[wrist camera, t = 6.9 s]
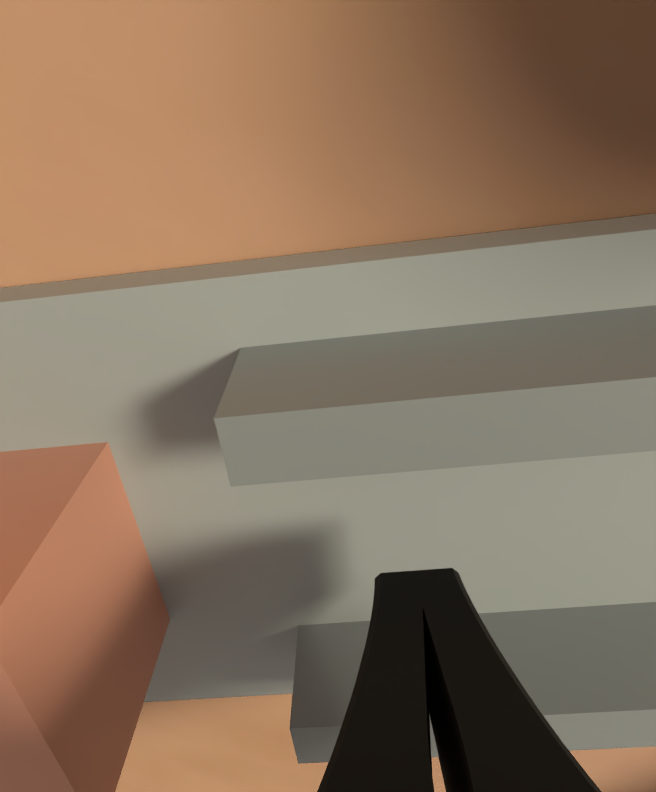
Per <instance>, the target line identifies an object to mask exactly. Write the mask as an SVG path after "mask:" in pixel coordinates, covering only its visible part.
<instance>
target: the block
mask: <svg viewBox="0 0 656 792" xmlns="http://www.w3.org/2000/svg"><path fill="white" fill-rule="evenodd" d="M169 622H170V617H169V614H168V611H167V608H166V605H165V603H164V600H163V597H162V594H161V591H160V588H159V586H158V583H157V580H156V577H155V574H154V571H153V568H152V566H151V563H150V560H149V557H148V554H147V551H146V549H145V546H144V543H143V540H142V537H141V534H140V532H139V529H138V526H137V523H136V520H135V517H134V515H133V512H132V509H131V506H130V503H129V500H128V498H127V495H126V492H125V489H124V486H123V483H122V481H121V478H120V475H119V472H118V469H117V466H116V464H115V461H114V458H113V455H112V452H111V449H110V446H109V444H108V442H103V443H92V444H81V445H70V446H59V447H48V448H37V449H27V450H16V451H5V452H0V792H115V790H116V787H117V784H118V780H119V777H120V774H121V771H122V768H123V765H124V762H125V759H126V756H127V752H128V749H129V746H130V743H131V740H132V737H133V734H134V731H135V727H136V724H137V721H138V718H139V715H140V712H141V709H142V706H143V703H144V699H145V696H146V693H147V690H148V687H149V684H150V681H151V678H152V675H153V671H154V668H155V665H156V662H157V659H158V656H159V653H160V650H161V646H162V643H163V640H164V637H165V634H166V631H167V628H168V625H169Z"/></svg>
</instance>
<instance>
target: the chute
mask: <svg viewBox="0 0 656 792" xmlns="http://www.w3.org/2000/svg"><path fill="white" fill-rule="evenodd" d="M103 442H108V444H109V446H110V449H111V452H112V455H113V458H114V461H115V464H116V466H117V469H118V472H119V475H120V478H121V481H122V483H123V486H124V489H125V492H126V495H127V498H128V500H129V503H130V506H131V509H132V512H133V515H134V517H135V520H136V523H137V526H138V529H139V532H140V534H141V537H142V540H143V543H144V546H145V549H146V551H147V554H148V557H149V560H150V563H151V566H152V568H153V571H154V574H155V577H156V580H157V583H158V586H159V588H160V591H161V594H162V597H163V600H164V603H165V605H166V608H167V611H168V614H169V617H170V622H169V625H168V628H167V631H166V634H165V637H164V640H163V643H162V646H161V650H160V653H159V656H158V659H157V662H156V665H155V668H154V671H153V675H152V678H151V681H150V684H149V687H148V690H147V693H146V696H145V699H144V702H153V701H171V700H188V699H206V698H224V697H241V696H259V695H276V694H293V695H292V707H291V720H290V731H291V736H292V740H293V744H294V748H295V752H296V756H297V760H298V763H319V762H329V760H330V758H331V755H332V752H333V750H334V747H335V744H336V741H337V738H338V735H339V732H340V729H341V726H342V723H343V720H344V717H345V714H346V711H347V708H348V705H349V702H350V699H351V696H352V692H353V689H354V686H355V682H356V678H357V674H358V671H359V667H360V663H361V659H362V656H363V652H364V648H365V644H366V639H367V634H368V630H369V625H370V620H371V614H372V607H373V599H374V585H375V578H376V577H377V576H378V575H379V574H380V573H387V572H401V571H415V570H429V569H443V568H453V569H454V570H456V571H457V572H458V573H459V575H460V577H461V580H462V582H463V584H464V587H465V589H466V591H467V593H468V595H469V597H470V599H471V601H472V603H473V605H474V607H475V609H476V610H477V612H478V614H479V616H480V618H481V619H482V621H483V623H484V625H485V626H486V628H487V630H488V632H489V633H490V635H491V637H492V639H493V640H494V642H495V644H496V645H497V647H498V648H499V650H500V652H501V653H502V655H503V656H504V658H505V659H506V661H507V663H508V664H509V666H510V667H511V669H512V670H513V672H514V673H515V675H516V676H517V678H518V680H519V681H520V683H521V684H522V686H523V687H524V689H525V690H526V692H527V693H528V695H529V696H530V697H531V699H532V700H533V702H534V703H535V705H536V706H537V708H538V709H539V710H540V712H541V713H542V715H543V716H544V717H545V719H546V720H547V721H548V723H549V724H550V726H551V727H552V728H553V730H554V731H555V732H556V734H557V735H558V737H559V738H560V739H561V741H562V742H563V743H564V745H565V746H566V747H567V749H568V750H590V749H611V748H631V747H652V746H656V214H647V215H638V216H629V217H620V218H612V219H603V220H594V221H585V222H576V223H568V224H559V225H550V226H541V227H532V228H524V229H515V230H506V231H497V232H488V233H480V234H471V235H462V236H453V237H444V238H436V239H427V240H418V241H409V242H400V243H392V244H383V245H374V246H365V247H356V248H348V249H339V250H330V251H321V252H312V253H304V254H295V255H286V256H277V257H268V258H260V259H251V260H242V261H233V262H224V263H216V264H207V265H198V266H189V267H180V268H172V269H163V270H154V271H145V272H136V273H128V274H119V275H110V276H101V277H92V278H84V279H75V280H66V281H57V282H48V283H40V284H31V285H22V286H13V287H4V288H0V452H5V451H16V450H27V449H37V448H48V447H59V446H70V445H81V444H92V443H103ZM429 717H430V714H429ZM430 739H431V757H439V756H438V751H437V747H436V742H435V737H434V733H433V728H432V724H431V719H430Z"/></svg>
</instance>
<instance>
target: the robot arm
mask: <svg viewBox="0 0 656 792" xmlns="http://www.w3.org/2000/svg"><path fill="white" fill-rule="evenodd" d="M429 714H430V717H429ZM430 719H431V724H432V728H433V733H434V737H435V742H436V747H437V751H438V756H439V761H440V765H441V770H442V774H443V779H444V784H445V788H446V792H601V791H600V789H599V788H598V787H597V786H596V784H595V783H594V782H593V781H592V780H591V778H590V777H589V776H588V775H587V773H586V772H585V771H584V769H583V768H582V767H581V766H580V764H579V763H578V762H577V760H576V759H575V758H574V757H573V755H572V754H571V753H570V751H569V750H568V749H567V747H566V746H565V745H564V743H563V742H562V741H561V739H560V738H559V737H558V735H557V734H556V732H555V731H554V730H553V728H552V727H551V726H550V724H549V723H548V721H547V720H546V719H545V717H544V716H543V715H542V713H541V712H540V710H539V709H538V708H537V706H536V705H535V703H534V702H533V700H532V699H531V697H530V696H529V695H528V693H527V692H526V690H525V689H524V687H523V686H522V684H521V683H520V681H519V680H518V678H517V676H516V675H515V673H514V672H513V670H512V669H511V667H510V666H509V664H508V663H507V661H506V659H505V658H504V656H503V655H502V653H501V652H500V650H499V648H498V647H497V645H496V644H495V642H494V640H493V639H492V637H491V635H490V633H489V632H488V630H487V628H486V626H485V625H484V623H483V621H482V619H481V618H480V616H479V614H478V612H477V610H476V609H475V607H474V605H473V603H472V601H471V599H470V597H469V595H468V593H467V591H466V589H465V587H464V584H463V582H462V580H461V577H460V575H459V573H458V572H457V571H456V570H454V569H453V568H443V569H429V570H415V571H401V572H387V573H380V574H379V575H378V576H377V577H376V578H375V585H374V599H373V607H372V614H371V620H370V625H369V630H368V634H367V639H366V644H365V648H364V652H363V656H362V659H361V663H360V667H359V671H358V674H357V678H356V682H355V686H354V689H353V692H352V696H351V699H350V702H349V705H348V708H347V711H346V714H345V717H344V720H343V723H342V726H341V729H340V732H339V735H338V738H337V741H336V744H335V747H334V750H333V752H332V755H331V758H330V760H329V763H328V766H327V768H326V771H325V774H324V776H323V779H322V781H321V784H320V786H319V789H318V791H317V792H434V787H433V779H432V761H431V739H430Z"/></svg>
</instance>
